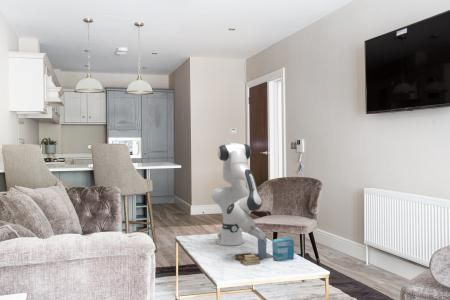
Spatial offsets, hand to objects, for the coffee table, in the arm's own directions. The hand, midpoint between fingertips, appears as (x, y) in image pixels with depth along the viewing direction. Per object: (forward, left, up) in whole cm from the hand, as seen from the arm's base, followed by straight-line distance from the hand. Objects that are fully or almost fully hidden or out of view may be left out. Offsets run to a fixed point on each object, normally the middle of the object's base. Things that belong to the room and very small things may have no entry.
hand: (262, 240), depth 276 cm
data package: (+12, +7, -10) cm, 17 cm away
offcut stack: (+13, -14, -10) cm, 21 cm away
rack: (+5, -14, -10) cm, 18 cm away
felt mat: (0, -1, -10) cm, 10 cm away
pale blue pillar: (0, -1, -9) cm, 9 cm away
